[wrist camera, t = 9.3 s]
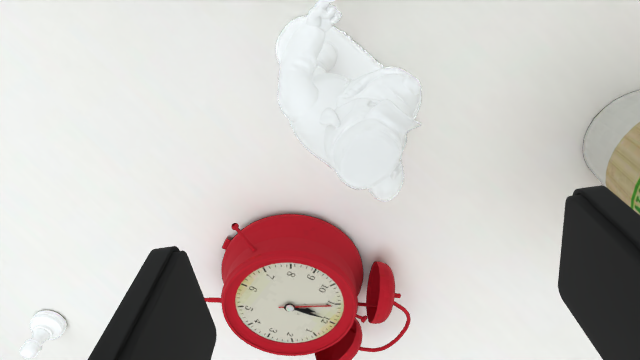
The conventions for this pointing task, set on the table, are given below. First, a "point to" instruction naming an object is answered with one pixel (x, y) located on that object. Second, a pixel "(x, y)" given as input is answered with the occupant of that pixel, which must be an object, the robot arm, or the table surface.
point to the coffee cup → (617, 148)
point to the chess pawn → (43, 332)
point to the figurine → (346, 102)
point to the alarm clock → (301, 288)
